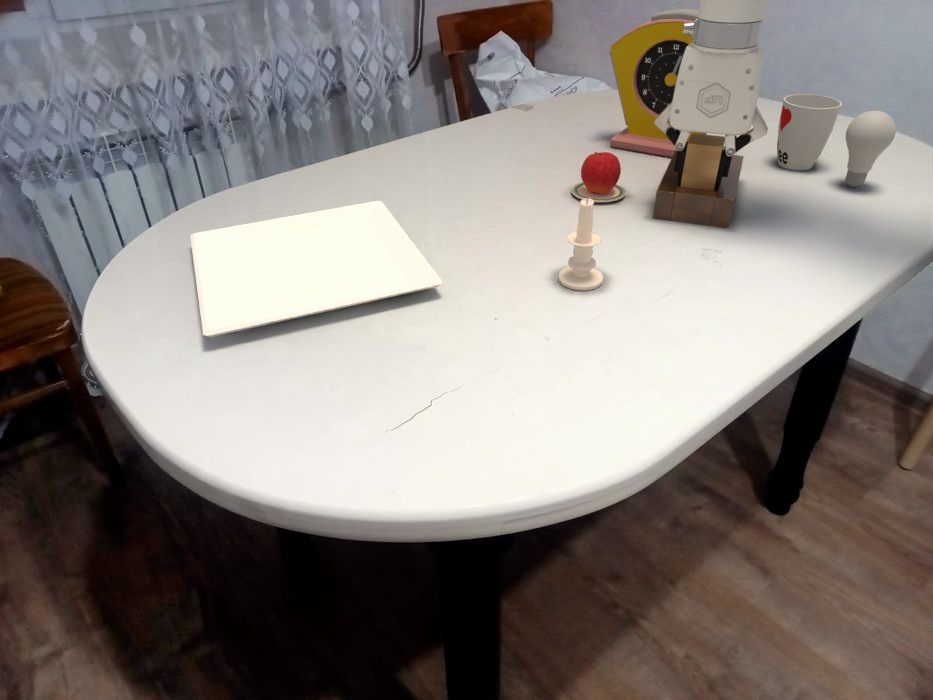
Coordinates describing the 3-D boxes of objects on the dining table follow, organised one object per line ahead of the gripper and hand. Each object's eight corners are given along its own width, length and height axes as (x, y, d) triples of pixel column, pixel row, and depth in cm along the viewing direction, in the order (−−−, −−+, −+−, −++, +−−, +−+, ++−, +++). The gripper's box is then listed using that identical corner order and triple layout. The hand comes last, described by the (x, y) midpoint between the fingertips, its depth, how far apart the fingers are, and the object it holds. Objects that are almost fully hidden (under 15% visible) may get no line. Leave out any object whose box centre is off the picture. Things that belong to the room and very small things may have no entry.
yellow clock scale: (594, 145, 116) (606, 9, 104) (615, 130, 123) (629, 1, 110) (720, 167, 106) (750, 20, 94) (736, 150, 112) (766, 10, 100)
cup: (770, 153, 111) (786, 92, 105) (823, 160, 108) (842, 96, 102) (765, 169, 105) (781, 105, 99) (821, 177, 102) (841, 110, 96)
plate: (193, 246, 88) (189, 232, 86) (382, 212, 95) (380, 198, 94) (208, 351, 68) (202, 334, 67) (444, 297, 75) (444, 281, 74)
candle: (593, 294, 75) (602, 209, 69) (551, 284, 77) (556, 201, 71) (609, 274, 79) (618, 192, 73) (568, 265, 81) (574, 184, 75)
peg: (714, 192, 93) (725, 136, 89) (710, 204, 90) (722, 146, 85) (682, 188, 95) (692, 133, 90) (677, 200, 91) (687, 143, 87)
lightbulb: (855, 197, 95) (881, 120, 89) (821, 183, 100) (843, 109, 93) (885, 190, 97) (912, 113, 91) (850, 176, 102) (874, 103, 95)
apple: (563, 199, 97) (566, 156, 93) (581, 181, 103) (585, 139, 99) (616, 208, 94) (621, 164, 90) (632, 189, 100) (637, 146, 96)
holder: (738, 181, 101) (743, 155, 99) (728, 228, 88) (734, 200, 86) (671, 173, 104) (675, 149, 102) (652, 217, 91) (656, 190, 89)
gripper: (651, 37, 80) (633, 181, 91) (802, 44, 75) (763, 197, 85) (661, 26, 86) (642, 163, 96) (802, 32, 80) (765, 176, 91)
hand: (699, 177), depth 91 cm, fingers closed on peg, 4 cm apart
